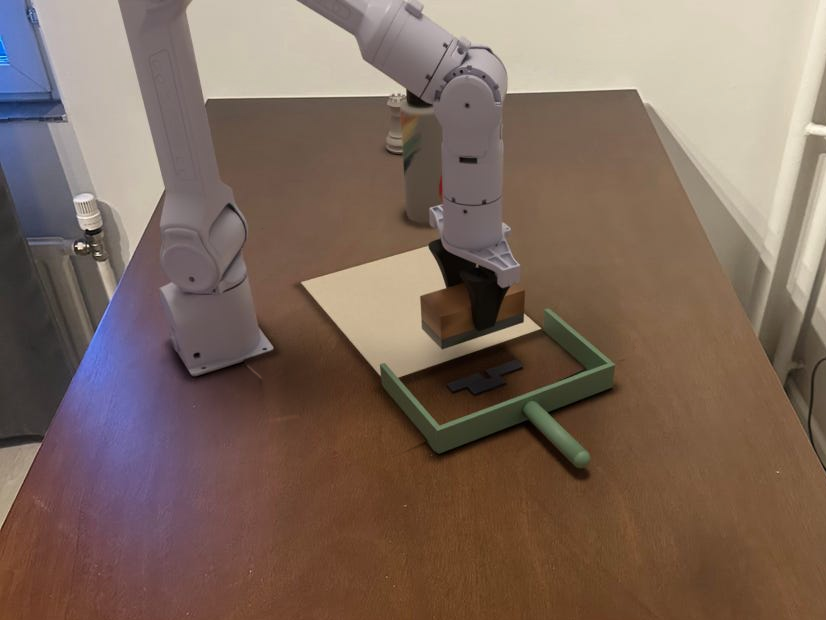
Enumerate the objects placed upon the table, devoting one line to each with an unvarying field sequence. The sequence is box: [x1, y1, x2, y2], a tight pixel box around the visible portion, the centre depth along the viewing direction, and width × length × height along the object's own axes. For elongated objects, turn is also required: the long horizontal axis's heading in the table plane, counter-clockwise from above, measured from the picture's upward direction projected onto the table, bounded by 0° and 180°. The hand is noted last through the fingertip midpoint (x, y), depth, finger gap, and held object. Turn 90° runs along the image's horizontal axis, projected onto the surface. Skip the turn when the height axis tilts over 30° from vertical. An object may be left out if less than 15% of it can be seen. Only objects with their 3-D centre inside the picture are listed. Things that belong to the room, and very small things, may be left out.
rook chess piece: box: [385, 92, 407, 155], centre depth 136 cm, size 4×4×8 cm
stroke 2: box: [466, 375, 507, 397], centre depth 95 cm, size 4×2×1 cm, turn 121°
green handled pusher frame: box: [380, 307, 616, 469], centre depth 91 cm, size 22×21×3 cm
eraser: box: [420, 283, 526, 349], centre depth 93 cm, size 10×4×4 cm, turn 120°
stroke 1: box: [445, 372, 486, 395], centre depth 95 cm, size 4×2×1 cm, turn 121°
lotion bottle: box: [400, 87, 443, 224], centre depth 116 cm, size 6×6×20 cm
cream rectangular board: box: [300, 245, 542, 379], centre depth 106 cm, size 20×24×1 cm
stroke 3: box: [484, 359, 524, 379], centre depth 97 cm, size 4×2×1 cm, turn 120°
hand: (473, 315), depth 94 cm, fingers closed on eraser, 4 cm apart
